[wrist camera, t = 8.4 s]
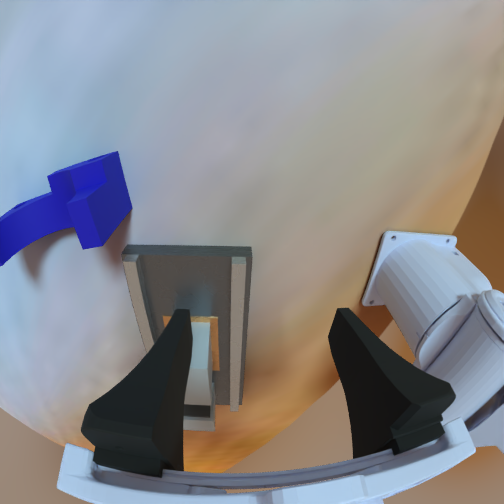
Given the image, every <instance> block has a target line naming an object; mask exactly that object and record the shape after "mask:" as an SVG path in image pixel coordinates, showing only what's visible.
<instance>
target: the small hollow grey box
mask: <svg viewBox="0 0 504 504" xmlns="http://www.w3.org/2000/svg"><path fill="white" fill-rule="evenodd" d="M183 429H184V430H194V431H215V384H214V383H212V399H211V405H190V404H184V421H183Z"/></svg>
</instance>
